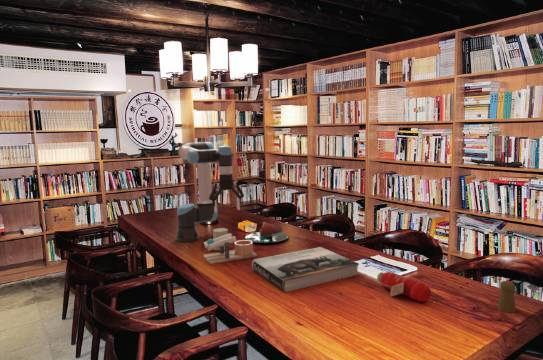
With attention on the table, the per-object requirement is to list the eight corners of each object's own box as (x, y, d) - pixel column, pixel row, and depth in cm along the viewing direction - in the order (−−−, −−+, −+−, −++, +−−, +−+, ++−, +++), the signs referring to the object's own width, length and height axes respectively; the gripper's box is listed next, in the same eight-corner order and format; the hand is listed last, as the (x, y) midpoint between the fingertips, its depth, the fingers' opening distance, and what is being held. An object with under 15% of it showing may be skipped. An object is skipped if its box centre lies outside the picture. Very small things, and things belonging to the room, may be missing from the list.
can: (225, 250, 240) (225, 231, 238) (211, 250, 241) (210, 230, 240) (230, 246, 249) (229, 227, 247) (216, 245, 250) (215, 227, 249)
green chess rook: (494, 306, 157) (495, 279, 156) (508, 305, 158) (510, 278, 156) (504, 313, 151) (505, 285, 150) (519, 312, 152) (521, 284, 150)
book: (283, 293, 176) (282, 280, 175) (252, 271, 205) (251, 259, 204) (359, 275, 195) (359, 263, 194) (320, 257, 224) (320, 246, 223)
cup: (232, 251, 234) (232, 241, 233) (249, 249, 238) (248, 239, 237) (238, 256, 224) (237, 246, 223) (255, 253, 228) (255, 243, 228)
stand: (203, 256, 229) (202, 239, 228) (247, 249, 240) (247, 233, 239) (210, 264, 216) (209, 246, 215) (257, 256, 227) (256, 239, 226)
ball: (207, 246, 224) (205, 239, 223) (214, 243, 225) (211, 236, 224) (209, 247, 220) (207, 241, 219) (216, 244, 221) (213, 238, 220)
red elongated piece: (414, 292, 156) (367, 274, 177) (416, 311, 158) (369, 290, 179) (433, 281, 162) (385, 264, 183) (434, 298, 164) (387, 280, 185)
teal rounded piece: (264, 248, 243) (263, 230, 242) (237, 239, 264) (236, 223, 263) (296, 239, 261) (296, 222, 260) (268, 231, 282) (268, 216, 281)
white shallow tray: (201, 244, 231) (200, 239, 231) (228, 235, 238) (227, 230, 237) (208, 250, 218) (207, 245, 217) (236, 241, 224) (235, 236, 223)
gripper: (205, 175, 215) (207, 214, 218) (248, 172, 225) (250, 209, 228) (202, 174, 222) (204, 211, 224) (244, 171, 232) (245, 207, 234)
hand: (227, 210), depth 226 cm, fingers open, 13 cm apart
